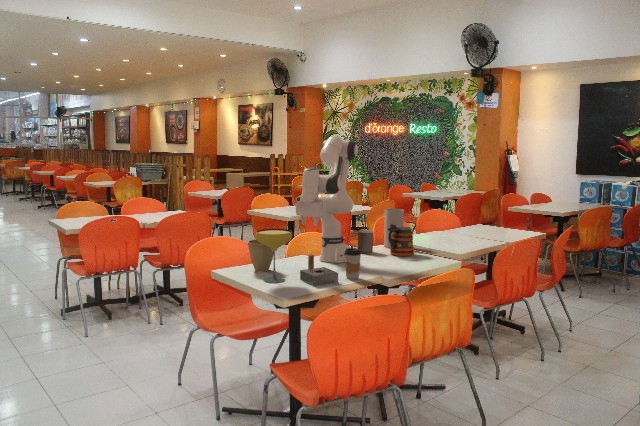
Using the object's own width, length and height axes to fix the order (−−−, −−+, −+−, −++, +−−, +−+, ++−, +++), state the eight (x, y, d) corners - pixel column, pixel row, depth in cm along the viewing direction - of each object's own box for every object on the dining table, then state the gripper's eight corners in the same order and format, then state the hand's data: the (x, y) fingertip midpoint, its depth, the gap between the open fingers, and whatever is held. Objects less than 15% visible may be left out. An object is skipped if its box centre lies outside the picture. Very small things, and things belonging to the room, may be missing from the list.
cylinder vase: (386, 244, 363) (386, 208, 360) (404, 245, 359) (405, 209, 356) (382, 248, 351) (383, 210, 348) (401, 249, 347) (402, 211, 344)
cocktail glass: (280, 274, 280) (279, 227, 277) (299, 281, 266) (299, 232, 263) (249, 279, 270) (249, 230, 266) (268, 287, 255) (267, 235, 252)
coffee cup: (341, 278, 273) (341, 249, 271) (351, 275, 278) (352, 247, 276) (353, 281, 267) (353, 251, 265) (364, 278, 272) (364, 249, 270)
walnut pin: (312, 272, 284) (312, 254, 283) (314, 273, 282) (314, 255, 280) (307, 273, 283) (307, 254, 281) (309, 274, 280) (309, 255, 279)
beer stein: (399, 258, 318) (400, 225, 316) (380, 255, 329) (381, 223, 326) (418, 254, 331) (419, 222, 329) (399, 251, 342) (400, 220, 339)
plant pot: (246, 273, 282) (245, 243, 280) (250, 267, 296) (249, 238, 294) (274, 273, 282) (274, 244, 280) (277, 267, 296) (276, 239, 294)
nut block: (324, 276, 276) (324, 267, 275) (338, 282, 264) (338, 272, 263) (300, 279, 269) (300, 270, 268) (313, 286, 257) (313, 276, 256)
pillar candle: (354, 252, 336) (354, 229, 334) (362, 250, 344) (363, 227, 342) (367, 254, 330) (368, 231, 328) (375, 252, 338) (376, 229, 336)
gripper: (327, 199, 269) (326, 227, 270) (303, 198, 285) (302, 223, 286) (317, 199, 265) (316, 227, 266) (294, 197, 281) (293, 224, 282)
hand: (309, 225), depth 276 cm, fingers open, 8 cm apart
